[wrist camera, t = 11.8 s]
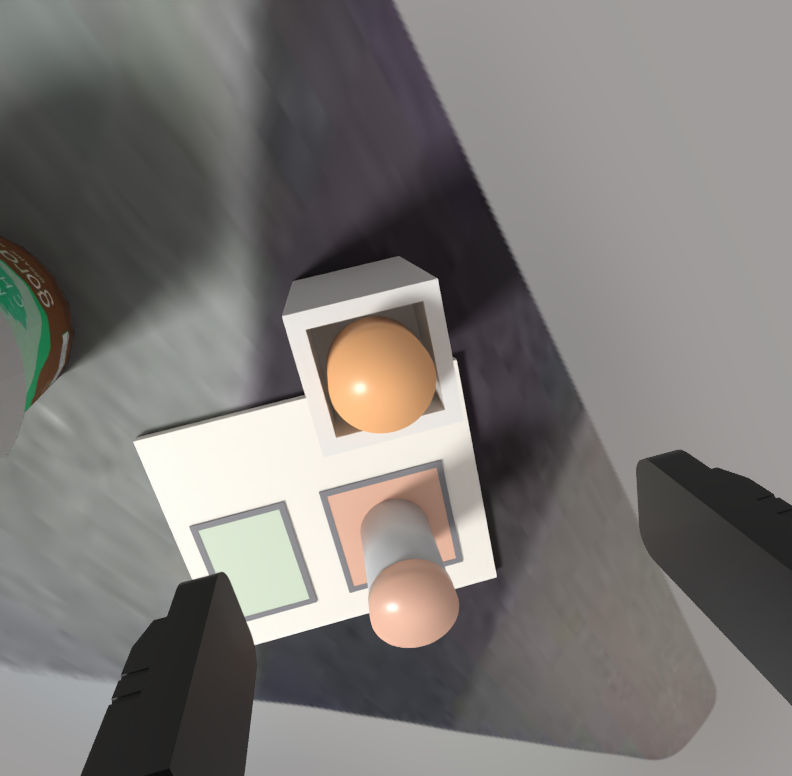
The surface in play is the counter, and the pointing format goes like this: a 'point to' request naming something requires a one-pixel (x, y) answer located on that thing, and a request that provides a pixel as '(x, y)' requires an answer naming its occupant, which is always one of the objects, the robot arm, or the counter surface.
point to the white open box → (355, 299)
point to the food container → (28, 336)
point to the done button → (379, 375)
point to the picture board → (308, 508)
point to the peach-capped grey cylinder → (406, 576)
